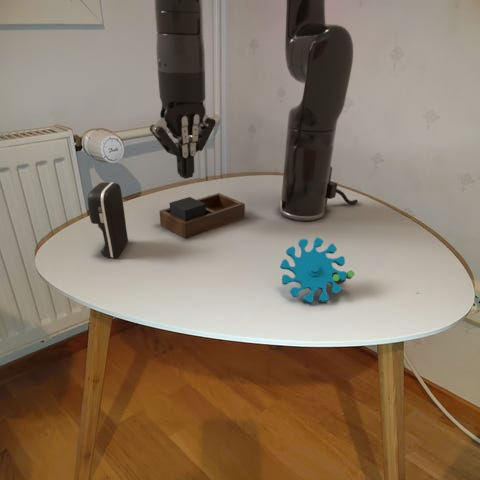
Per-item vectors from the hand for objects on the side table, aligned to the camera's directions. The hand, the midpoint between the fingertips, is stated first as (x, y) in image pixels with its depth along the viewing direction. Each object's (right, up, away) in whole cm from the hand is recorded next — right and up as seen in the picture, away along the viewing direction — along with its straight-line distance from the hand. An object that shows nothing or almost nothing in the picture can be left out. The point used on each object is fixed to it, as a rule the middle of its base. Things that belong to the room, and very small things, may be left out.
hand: (186, 176), depth 77 cm
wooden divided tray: (+2, -6, +8) cm, 11 cm away
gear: (+21, -22, -12) cm, 33 cm away
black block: (0, -7, +5) cm, 9 cm away
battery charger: (-13, -14, -3) cm, 19 cm away
